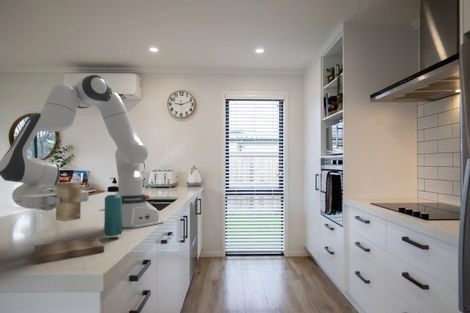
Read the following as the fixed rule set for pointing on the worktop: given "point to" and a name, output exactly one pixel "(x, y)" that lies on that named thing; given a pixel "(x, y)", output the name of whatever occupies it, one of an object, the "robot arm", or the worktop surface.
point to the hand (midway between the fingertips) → (70, 199)
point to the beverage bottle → (113, 213)
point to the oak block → (68, 201)
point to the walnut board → (67, 249)
